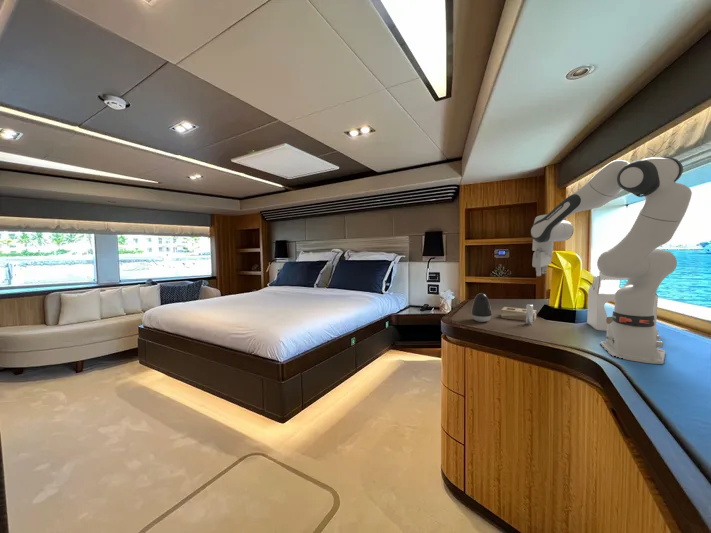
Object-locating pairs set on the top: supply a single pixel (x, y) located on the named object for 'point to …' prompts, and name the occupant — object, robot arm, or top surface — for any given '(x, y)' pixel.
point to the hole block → (515, 313)
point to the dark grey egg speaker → (481, 308)
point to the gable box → (599, 298)
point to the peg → (529, 314)
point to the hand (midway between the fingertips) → (541, 274)
